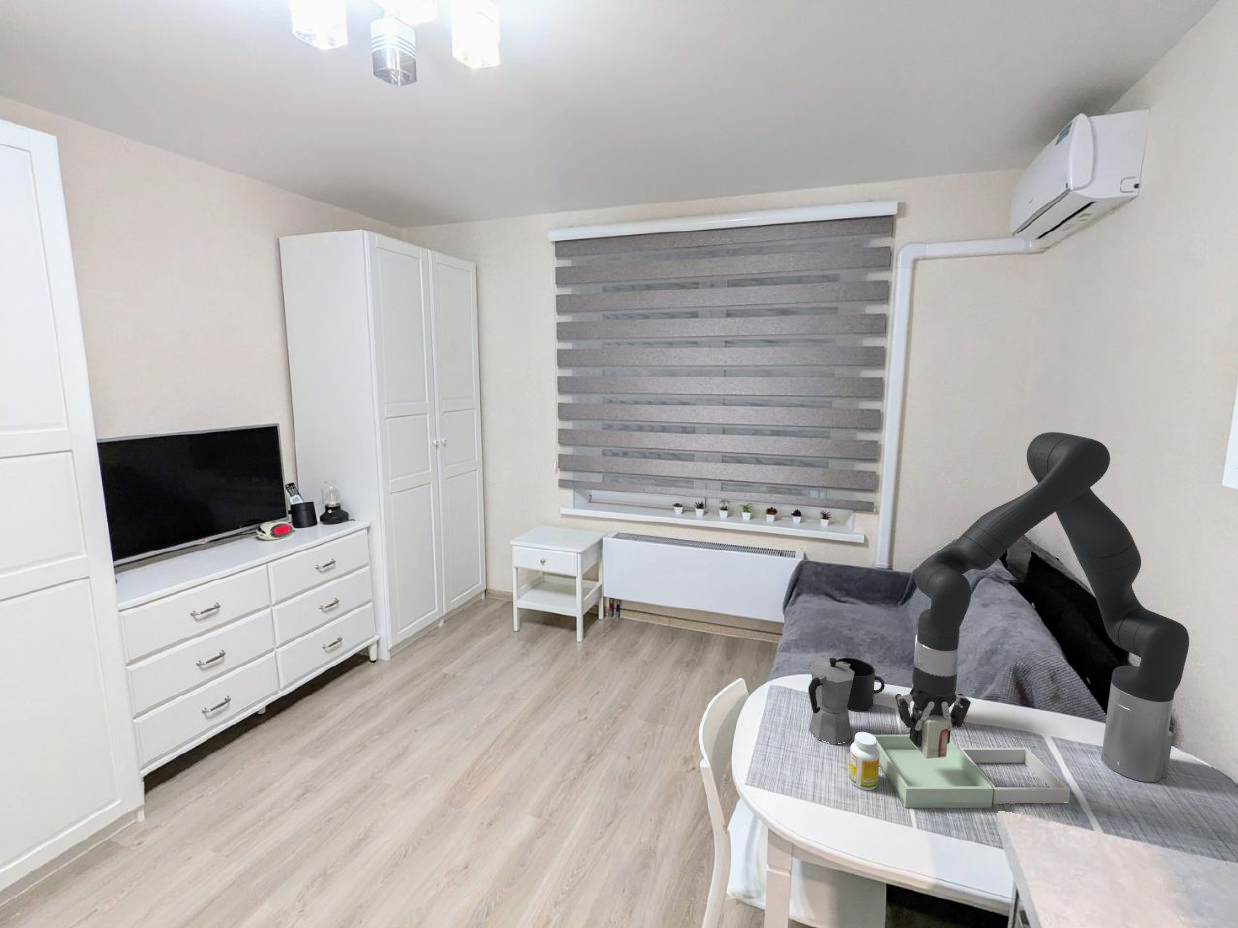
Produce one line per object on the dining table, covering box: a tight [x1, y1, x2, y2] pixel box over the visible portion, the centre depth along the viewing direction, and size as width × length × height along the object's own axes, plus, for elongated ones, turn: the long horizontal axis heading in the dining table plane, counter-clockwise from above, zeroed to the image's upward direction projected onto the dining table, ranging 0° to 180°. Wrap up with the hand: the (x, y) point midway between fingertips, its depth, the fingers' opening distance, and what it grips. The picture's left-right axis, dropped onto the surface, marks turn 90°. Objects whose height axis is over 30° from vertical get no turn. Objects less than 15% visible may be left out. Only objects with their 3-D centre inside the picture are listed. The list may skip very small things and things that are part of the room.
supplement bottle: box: [848, 731, 880, 791], centre depth 113 cm, size 5×5×10 cm
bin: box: [872, 734, 993, 809], centre depth 114 cm, size 16×16×4 cm
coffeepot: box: [807, 657, 855, 745], centre depth 127 cm, size 15×9×18 cm, turn 129°
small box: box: [912, 714, 949, 759], centre depth 113 cm, size 5×4×8 cm
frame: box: [957, 747, 1071, 805], centre depth 113 cm, size 14×12×3 cm
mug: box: [837, 657, 886, 712], centre depth 140 cm, size 9×12×9 cm
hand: (928, 743), depth 113 cm, fingers closed on small box, 4 cm apart
